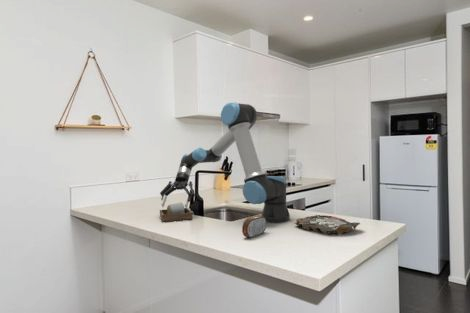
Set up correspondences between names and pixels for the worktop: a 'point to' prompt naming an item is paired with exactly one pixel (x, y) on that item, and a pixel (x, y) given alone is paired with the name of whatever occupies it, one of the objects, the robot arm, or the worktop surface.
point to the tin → (254, 226)
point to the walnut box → (175, 216)
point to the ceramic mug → (175, 208)
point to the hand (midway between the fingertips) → (173, 205)
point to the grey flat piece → (326, 224)
